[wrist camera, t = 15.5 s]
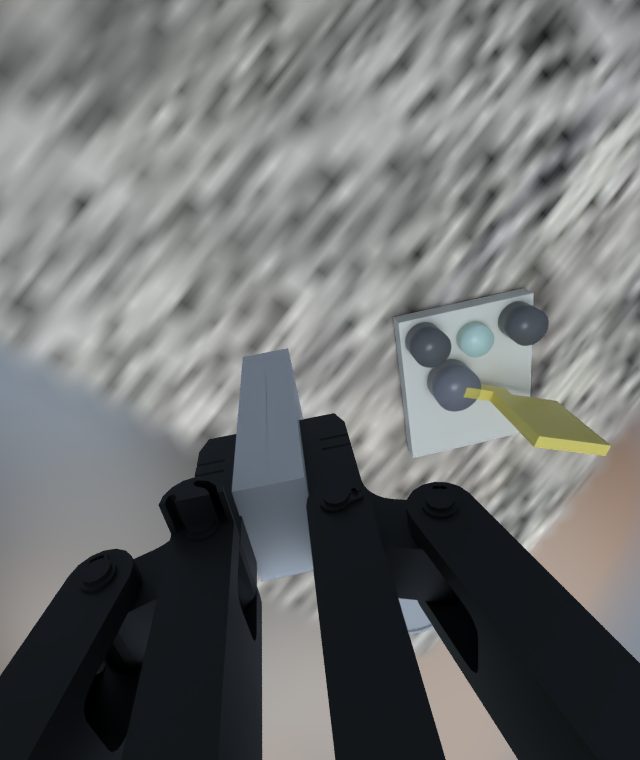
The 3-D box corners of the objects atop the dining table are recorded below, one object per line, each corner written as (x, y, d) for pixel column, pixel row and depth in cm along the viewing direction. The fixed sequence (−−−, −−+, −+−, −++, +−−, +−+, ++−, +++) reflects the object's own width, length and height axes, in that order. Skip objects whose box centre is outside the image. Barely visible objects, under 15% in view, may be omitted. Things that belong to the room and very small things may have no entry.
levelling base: (393, 317, 51) (407, 332, 47) (523, 288, 52) (549, 301, 48) (408, 449, 60) (421, 473, 55) (520, 422, 60) (542, 444, 56)
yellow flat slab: (421, 395, 54) (464, 456, 43) (435, 356, 52) (484, 409, 41) (531, 411, 57) (596, 471, 46) (548, 374, 55) (620, 428, 44)
